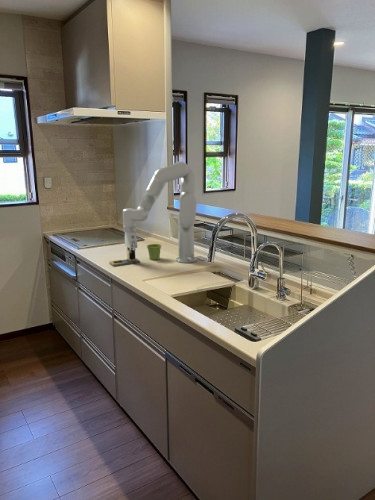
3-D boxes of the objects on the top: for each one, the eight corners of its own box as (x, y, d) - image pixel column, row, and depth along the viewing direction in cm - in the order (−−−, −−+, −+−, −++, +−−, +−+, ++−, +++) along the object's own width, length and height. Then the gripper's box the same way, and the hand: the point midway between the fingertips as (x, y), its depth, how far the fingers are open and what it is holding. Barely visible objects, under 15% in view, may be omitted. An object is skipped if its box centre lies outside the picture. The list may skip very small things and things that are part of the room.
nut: (135, 262, 246) (135, 249, 244) (129, 263, 245) (128, 250, 243) (133, 261, 250) (132, 248, 248) (127, 261, 248) (126, 249, 246)
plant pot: (144, 260, 251) (143, 246, 249) (151, 256, 260) (150, 243, 258) (158, 261, 248) (157, 247, 246) (164, 257, 256) (164, 244, 254)
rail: (136, 259, 252) (136, 257, 252) (140, 262, 246) (139, 260, 246) (109, 263, 245) (109, 261, 244) (112, 266, 239) (112, 264, 238)
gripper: (140, 230, 237) (141, 260, 241) (131, 226, 251) (132, 254, 256) (128, 232, 233) (129, 262, 238) (119, 227, 248) (121, 256, 252)
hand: (131, 258), depth 247 cm, fingers closed on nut, 4 cm apart
